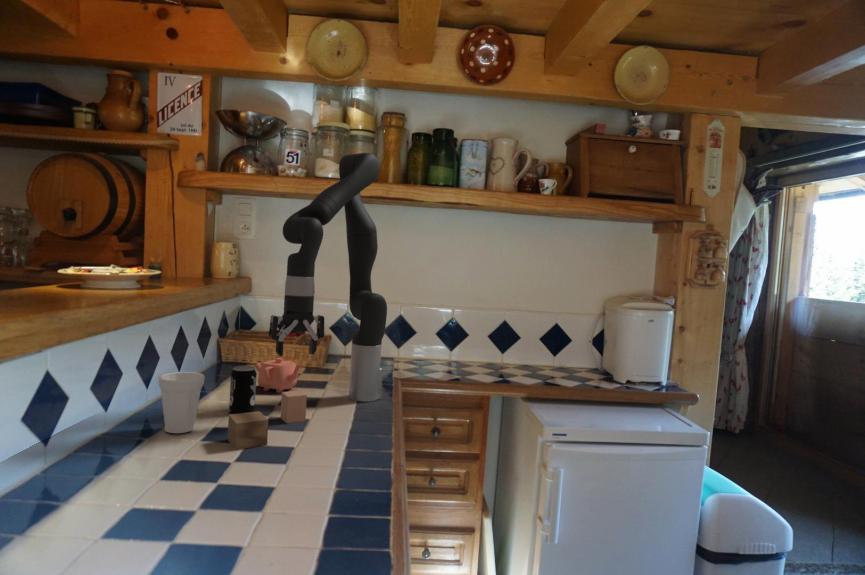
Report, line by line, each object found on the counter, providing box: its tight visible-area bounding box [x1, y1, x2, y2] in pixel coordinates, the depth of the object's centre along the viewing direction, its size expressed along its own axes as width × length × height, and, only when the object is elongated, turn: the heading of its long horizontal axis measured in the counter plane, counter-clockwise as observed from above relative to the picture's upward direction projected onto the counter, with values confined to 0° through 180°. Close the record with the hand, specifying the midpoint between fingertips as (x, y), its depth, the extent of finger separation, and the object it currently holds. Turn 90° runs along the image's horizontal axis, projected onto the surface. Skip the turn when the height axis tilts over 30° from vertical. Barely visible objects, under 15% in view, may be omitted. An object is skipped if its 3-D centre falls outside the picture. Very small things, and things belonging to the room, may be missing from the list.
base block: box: [227, 411, 269, 450], centre depth 119 cm, size 7×7×6 cm
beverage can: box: [229, 365, 257, 414], centre depth 142 cm, size 7×7×12 cm
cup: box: [158, 371, 206, 434], centre depth 124 cm, size 10×10×13 cm
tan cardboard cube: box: [280, 390, 308, 424], centre depth 138 cm, size 5×5×7 cm
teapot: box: [253, 357, 304, 394], centre depth 166 cm, size 14×12×10 cm
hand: (296, 354), depth 137 cm, fingers open, 8 cm apart
